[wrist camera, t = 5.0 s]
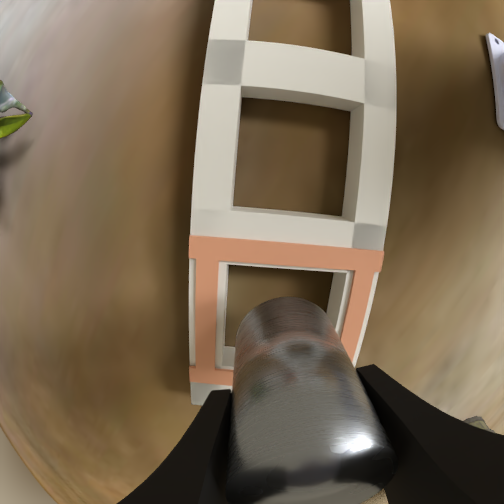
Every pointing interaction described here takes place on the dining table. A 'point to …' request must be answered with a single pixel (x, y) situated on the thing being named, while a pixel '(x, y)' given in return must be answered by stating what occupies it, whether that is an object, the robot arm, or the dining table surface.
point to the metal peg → (301, 414)
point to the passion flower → (7, 125)
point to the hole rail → (280, 221)
